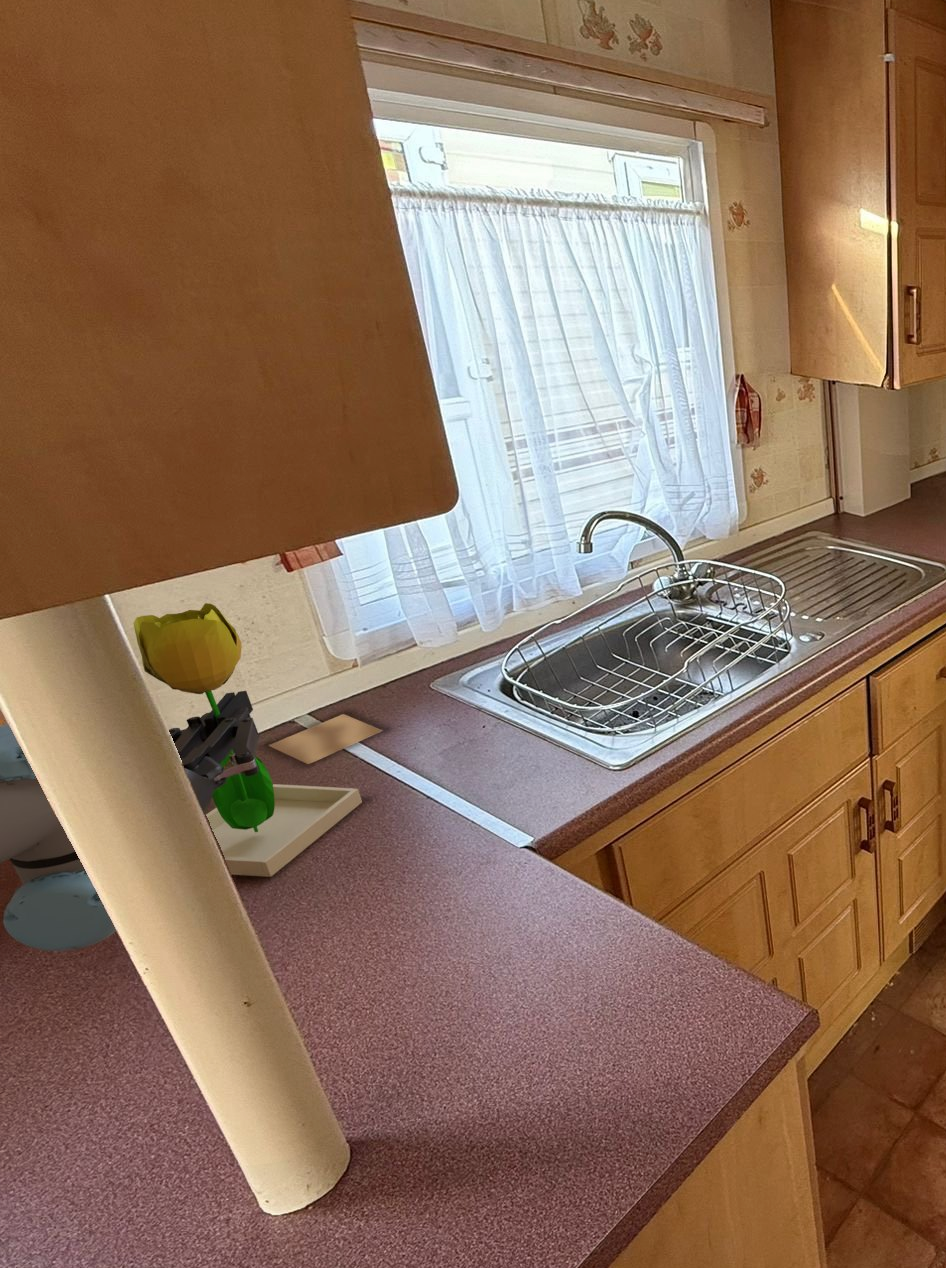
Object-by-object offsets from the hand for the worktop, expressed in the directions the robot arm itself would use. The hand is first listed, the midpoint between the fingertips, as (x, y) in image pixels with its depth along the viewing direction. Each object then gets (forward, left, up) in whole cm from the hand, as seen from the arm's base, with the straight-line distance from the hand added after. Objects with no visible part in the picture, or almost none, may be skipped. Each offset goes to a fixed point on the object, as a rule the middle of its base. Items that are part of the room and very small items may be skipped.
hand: (239, 701), depth 104 cm
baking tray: (+2, -5, -16) cm, 17 cm away
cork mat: (-7, +16, -16) cm, 24 cm away
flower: (+2, -5, -16) cm, 17 cm away
